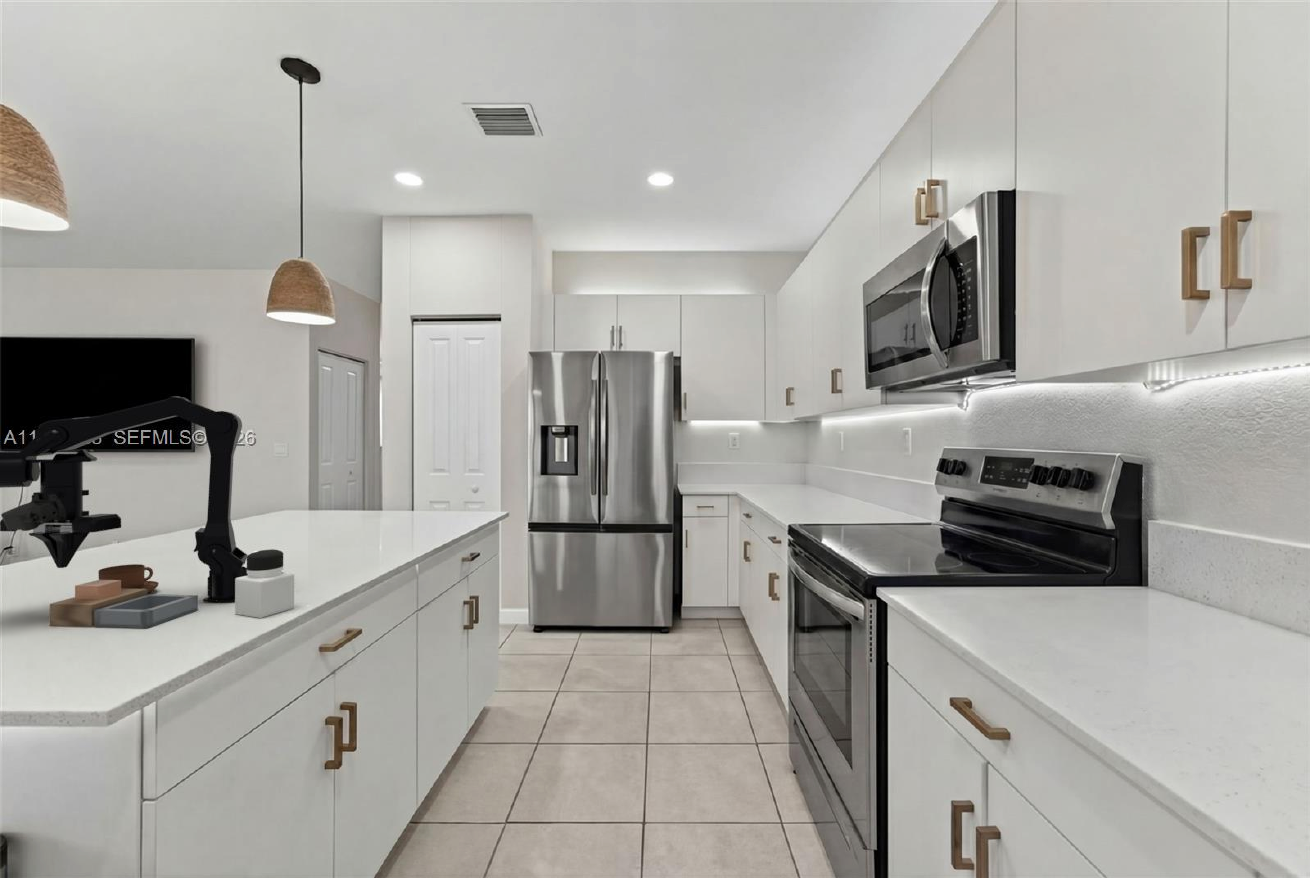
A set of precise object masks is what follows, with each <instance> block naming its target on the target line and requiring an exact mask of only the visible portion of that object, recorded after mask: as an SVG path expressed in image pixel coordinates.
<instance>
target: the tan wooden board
mask: <svg viewBox="0 0 1310 878" xmlns="http://www.w3.org/2000/svg"><path fill="white" fill-rule="evenodd" d="M148 594H149V592H148V589H129V588H121V593H120V594H116V595H112V596H109V597H105V598H102V599H98V600H93V599H75V596H74V597H70V598H67V599H64V600H63V599H62V600H60V601H55V602H52V603H49V626H50V627H74V628H75V627H77V628H78V627H79V628H81V627H82V628H93V627H94V610H98V609H101V608H104V607H108V606H111V605H115V604H118V603H121V602H125V601H128V600H131V599H135V598H138V597H142V596H145V595H148Z"/></svg>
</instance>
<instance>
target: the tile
mask: <svg viewBox="0 0 1310 878" xmlns="http://www.w3.org/2000/svg"><path fill="white" fill-rule="evenodd" d="M120 593H121V580H99V579H95V580H93V581H89V582H84V583H80V584H76V585H75V586H74V597H75V599H93V600H98V599H102V598H105V597H109V596H112V595H116V594H120Z"/></svg>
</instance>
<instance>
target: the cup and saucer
mask: <svg viewBox="0 0 1310 878" xmlns="http://www.w3.org/2000/svg"><path fill="white" fill-rule="evenodd" d="M145 571H148V572H149V575H147V577H145ZM97 573H98V580H121V588H129V589H148V593H151V592H152V591H154V590H155V589H157V587H159V582H158V581H154V580H151V578H152V577H153V575H154V571H153V568H151V567H149V566H145V565H144V564H139V563H137V564H134V563H133V564H120V565H114V566H108V567H104V568H100V569H99V570H98V572H97Z"/></svg>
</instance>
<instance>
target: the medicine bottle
mask: <svg viewBox="0 0 1310 878" xmlns="http://www.w3.org/2000/svg"><path fill="white" fill-rule="evenodd" d="M246 568H247V574H248V575H247V576H243V577H238V578H236V579H235V601H234V613H235V615H238V616H244V617H250V618H251V617H252V618H257V619H262V618H267V617H270V616H272V615H277V614H279V613H282V612H285V611H290V610H292V609H294V607H295V573H293V572H286V571H285V572H284V571H283V570H284V552H283V551H282V550H278V549H273V548H272V549H270V548H269V549H259V550H255V551H252V552H250V553H248V554H247V559H246Z"/></svg>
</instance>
